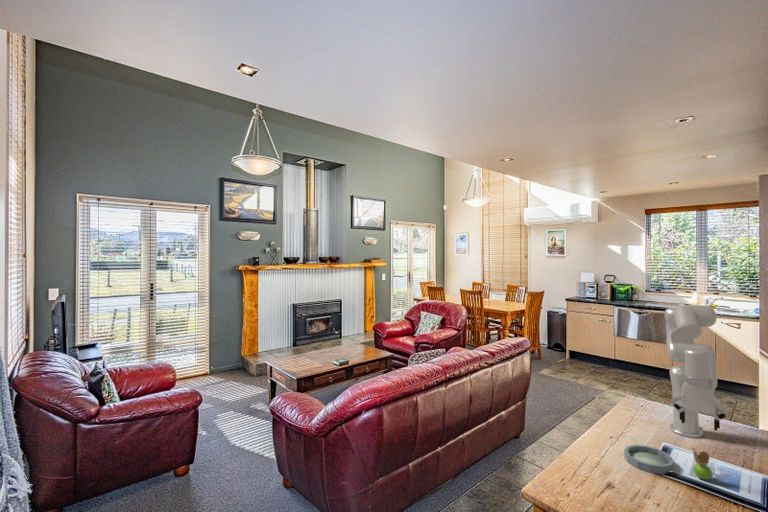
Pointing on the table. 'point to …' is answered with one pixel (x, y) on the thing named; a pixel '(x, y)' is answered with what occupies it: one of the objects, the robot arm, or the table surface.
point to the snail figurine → (702, 465)
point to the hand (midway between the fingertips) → (699, 425)
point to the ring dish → (648, 459)
